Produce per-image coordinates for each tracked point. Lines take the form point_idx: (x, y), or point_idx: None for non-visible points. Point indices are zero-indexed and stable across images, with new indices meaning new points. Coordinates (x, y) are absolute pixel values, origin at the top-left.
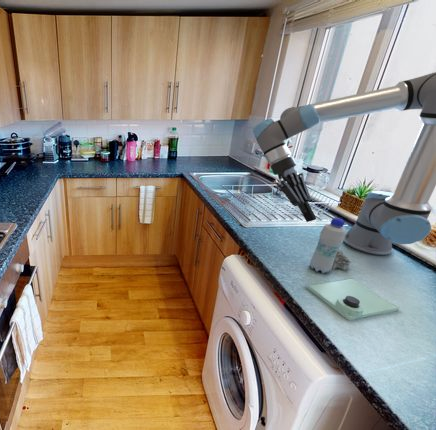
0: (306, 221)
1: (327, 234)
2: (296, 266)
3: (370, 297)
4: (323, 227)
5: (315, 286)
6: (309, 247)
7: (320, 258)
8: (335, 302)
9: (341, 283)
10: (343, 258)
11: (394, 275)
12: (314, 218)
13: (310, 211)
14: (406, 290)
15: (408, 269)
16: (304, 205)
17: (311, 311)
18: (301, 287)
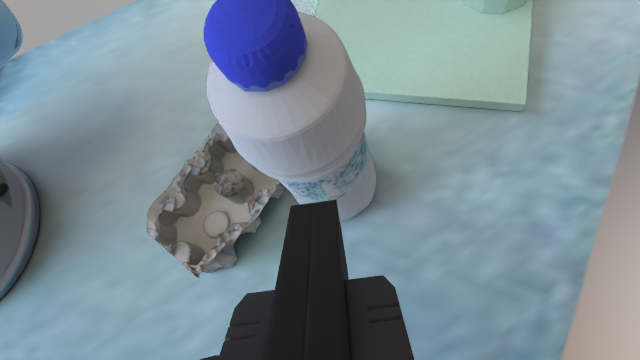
0: (347, 274)
1: (357, 87)
2: (417, 241)
3: (358, 3)
4: (308, 141)
5: (501, 92)
6: (188, 336)
7: (369, 153)
8: (513, 11)
9: (373, 78)
10: (205, 165)
11: (128, 76)
12: (319, 208)
13: (324, 255)
14: (192, 18)
15: (50, 84)
16: (354, 357)
17: (630, 19)
18: (541, 124)
